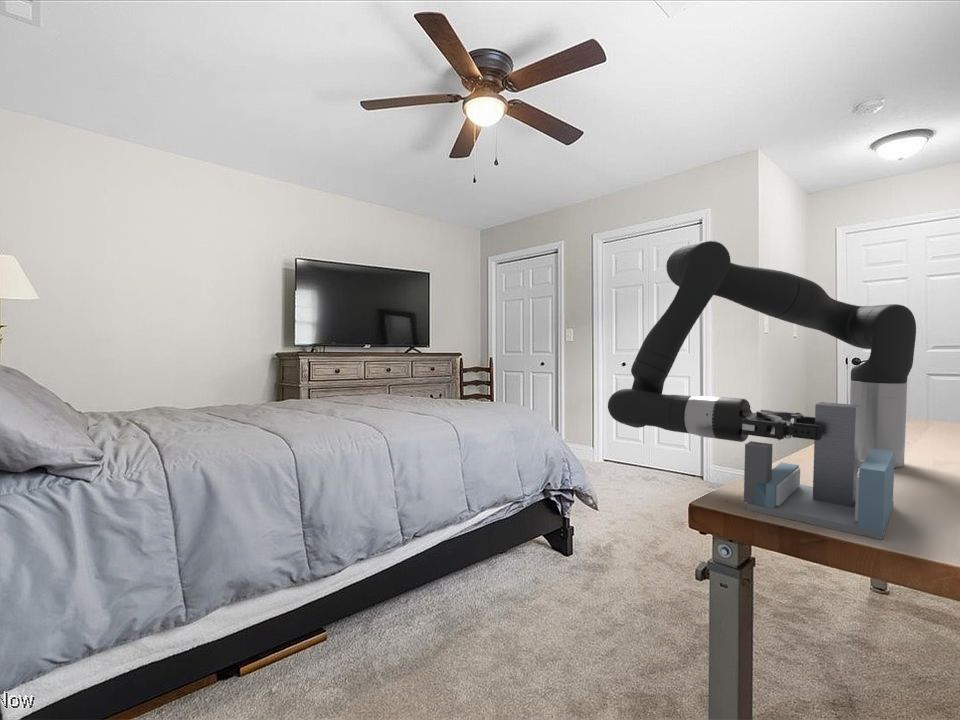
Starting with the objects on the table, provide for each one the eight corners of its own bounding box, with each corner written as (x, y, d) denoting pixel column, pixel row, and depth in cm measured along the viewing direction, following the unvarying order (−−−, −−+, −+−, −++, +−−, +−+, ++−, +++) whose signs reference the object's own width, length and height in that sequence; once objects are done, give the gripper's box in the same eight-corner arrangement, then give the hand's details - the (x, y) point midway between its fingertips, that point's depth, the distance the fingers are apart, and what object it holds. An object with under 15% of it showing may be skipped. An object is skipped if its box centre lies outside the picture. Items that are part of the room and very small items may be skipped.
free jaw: (771, 480, 86) (772, 430, 85) (801, 485, 83) (802, 433, 82) (743, 502, 74) (745, 444, 74) (777, 509, 71) (778, 448, 71)
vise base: (775, 485, 86) (777, 435, 86) (893, 507, 75) (895, 450, 75) (747, 509, 74) (748, 451, 74) (882, 539, 63) (884, 471, 63)
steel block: (817, 493, 79) (820, 402, 78) (856, 501, 75) (859, 405, 74) (812, 499, 76) (815, 404, 75) (852, 507, 72) (855, 407, 72)
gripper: (703, 400, 82) (819, 410, 70) (730, 393, 92) (835, 401, 81) (702, 444, 82) (817, 461, 71) (729, 432, 92) (833, 445, 81)
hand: (826, 429), depth 76 cm, fingers open, 8 cm apart
